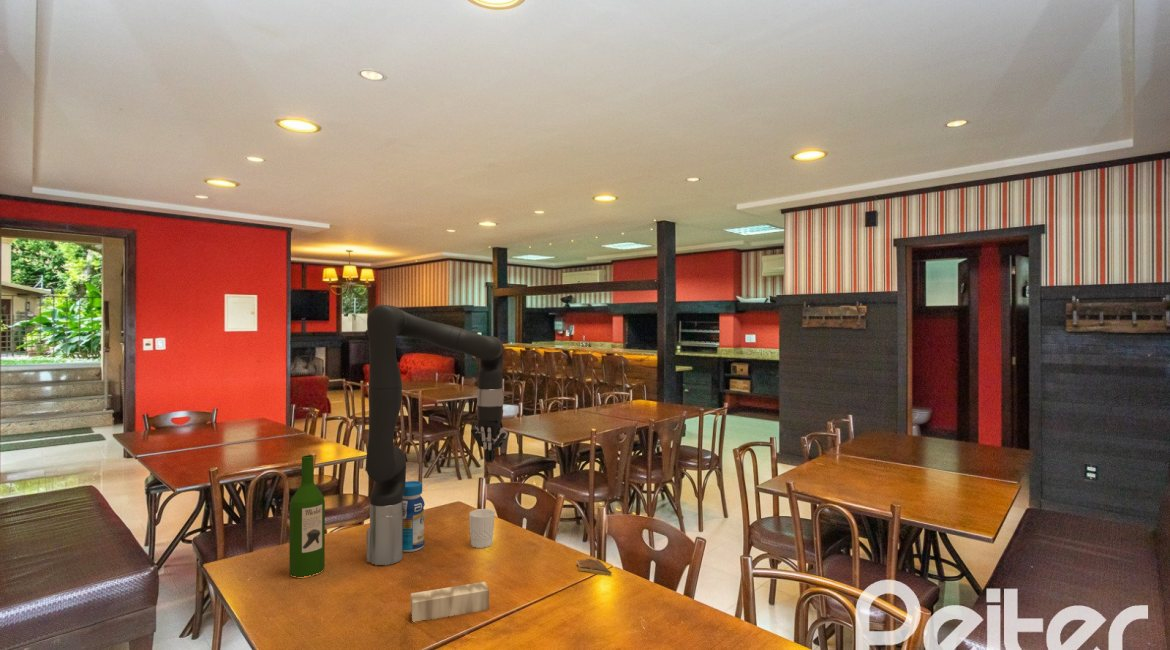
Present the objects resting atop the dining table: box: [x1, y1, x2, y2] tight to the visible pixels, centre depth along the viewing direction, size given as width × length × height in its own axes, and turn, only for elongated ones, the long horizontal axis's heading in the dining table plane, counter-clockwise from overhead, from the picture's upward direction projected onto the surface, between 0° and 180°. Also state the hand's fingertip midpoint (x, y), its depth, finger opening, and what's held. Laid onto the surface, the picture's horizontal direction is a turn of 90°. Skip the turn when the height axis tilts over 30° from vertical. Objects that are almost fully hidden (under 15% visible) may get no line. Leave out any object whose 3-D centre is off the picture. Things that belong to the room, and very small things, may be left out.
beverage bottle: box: [403, 480, 426, 553], centre depth 179 cm, size 8×8×20 cm
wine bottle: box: [288, 454, 326, 577], centre depth 162 cm, size 9×9×32 cm
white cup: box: [468, 508, 495, 549], centre depth 182 cm, size 8×8×10 cm
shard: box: [575, 557, 613, 576], centre depth 163 cm, size 11×8×2 cm
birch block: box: [410, 581, 490, 623], centre depth 140 cm, size 5×5×18 cm
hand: (489, 461), depth 171 cm, fingers closed
